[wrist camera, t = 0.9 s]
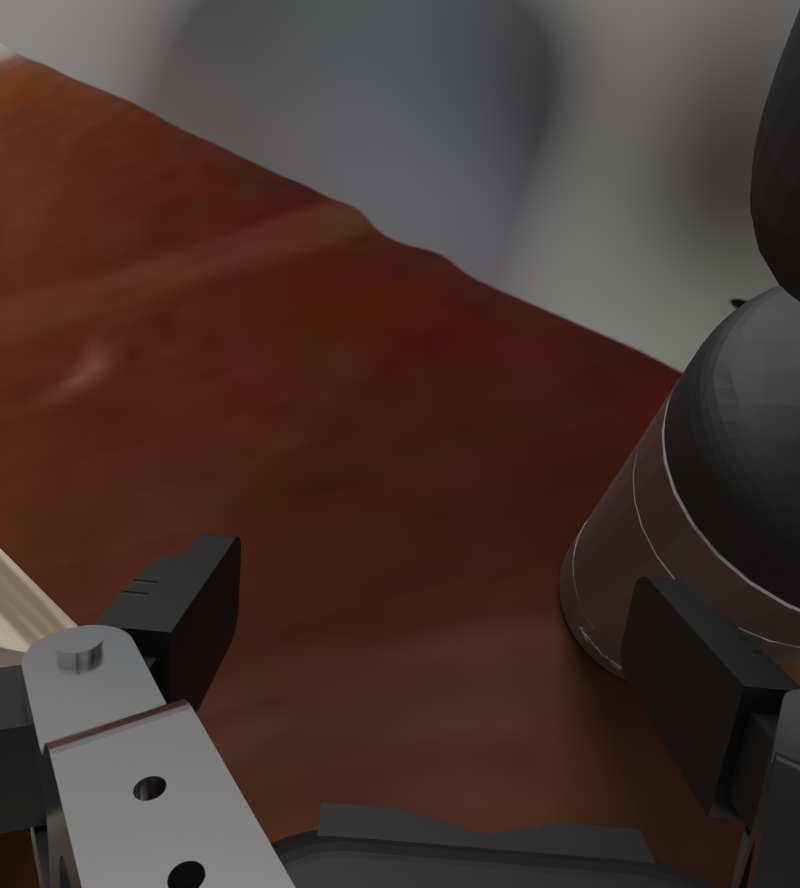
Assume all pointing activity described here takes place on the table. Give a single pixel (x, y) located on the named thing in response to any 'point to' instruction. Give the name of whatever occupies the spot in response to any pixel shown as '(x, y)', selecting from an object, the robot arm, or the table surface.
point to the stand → (24, 613)
